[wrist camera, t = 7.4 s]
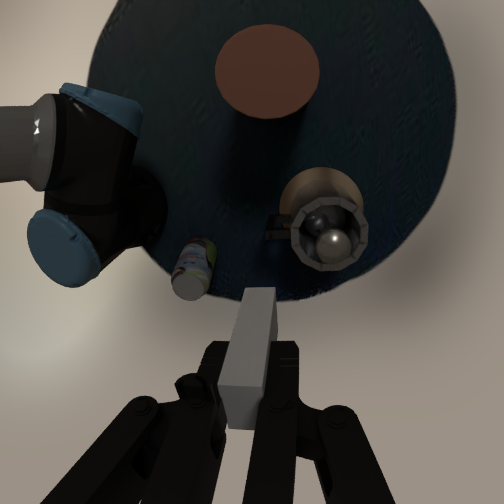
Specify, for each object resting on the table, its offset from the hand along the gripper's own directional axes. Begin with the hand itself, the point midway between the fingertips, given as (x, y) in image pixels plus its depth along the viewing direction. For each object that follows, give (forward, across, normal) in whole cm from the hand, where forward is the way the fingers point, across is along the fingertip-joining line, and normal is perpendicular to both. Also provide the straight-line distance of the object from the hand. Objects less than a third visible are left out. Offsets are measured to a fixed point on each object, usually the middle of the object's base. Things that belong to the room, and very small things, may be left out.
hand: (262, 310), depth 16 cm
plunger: (+33, +6, -5) cm, 33 cm away
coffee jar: (+37, 0, +15) cm, 40 cm away
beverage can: (+37, -15, -12) cm, 41 cm away
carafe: (+36, +4, -5) cm, 36 cm away
